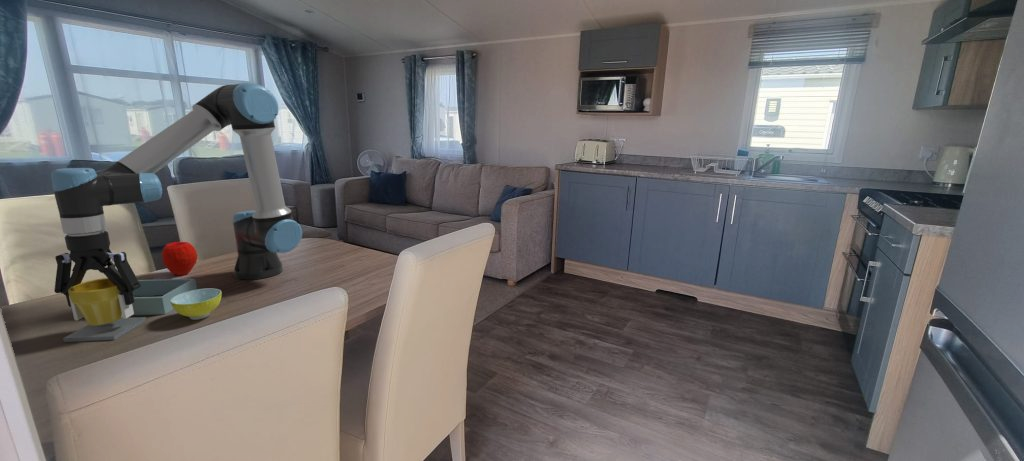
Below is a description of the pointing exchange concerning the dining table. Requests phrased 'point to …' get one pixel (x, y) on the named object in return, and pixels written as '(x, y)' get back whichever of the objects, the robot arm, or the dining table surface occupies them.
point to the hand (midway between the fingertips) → (104, 317)
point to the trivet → (105, 330)
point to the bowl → (197, 302)
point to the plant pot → (97, 301)
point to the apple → (179, 257)
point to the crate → (159, 287)
